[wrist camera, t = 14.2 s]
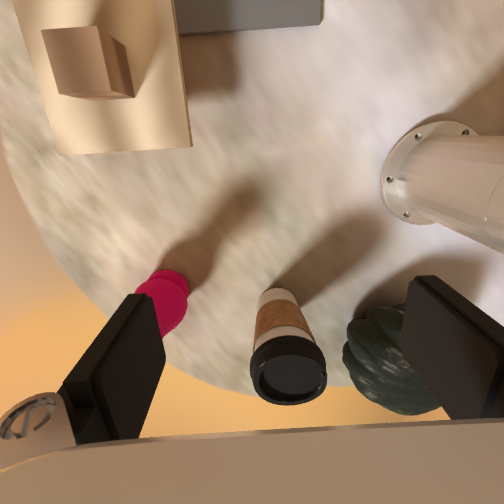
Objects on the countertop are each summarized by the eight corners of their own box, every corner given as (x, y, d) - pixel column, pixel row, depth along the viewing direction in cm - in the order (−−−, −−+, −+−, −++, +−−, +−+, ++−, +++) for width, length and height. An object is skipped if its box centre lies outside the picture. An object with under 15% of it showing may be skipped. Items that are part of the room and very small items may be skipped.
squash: (331, 402, 44) (443, 469, 33) (319, 321, 39) (446, 369, 28) (375, 349, 52) (476, 389, 41) (369, 277, 47) (484, 300, 36)
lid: (171, -18, 24) (147, -66, 18) (192, 146, 29) (179, 149, 23) (18, -7, 24) (-53, -51, 18) (66, 154, 29) (22, 159, 23)
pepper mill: (138, 268, 41) (47, 380, 22) (187, 263, 41) (137, 371, 22) (150, 310, 44) (78, 441, 25) (196, 306, 43) (158, 434, 25)
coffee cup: (311, 316, 44) (340, 399, 31) (261, 333, 46) (267, 421, 32) (293, 272, 41) (317, 341, 28) (240, 291, 42) (237, 368, 29)
